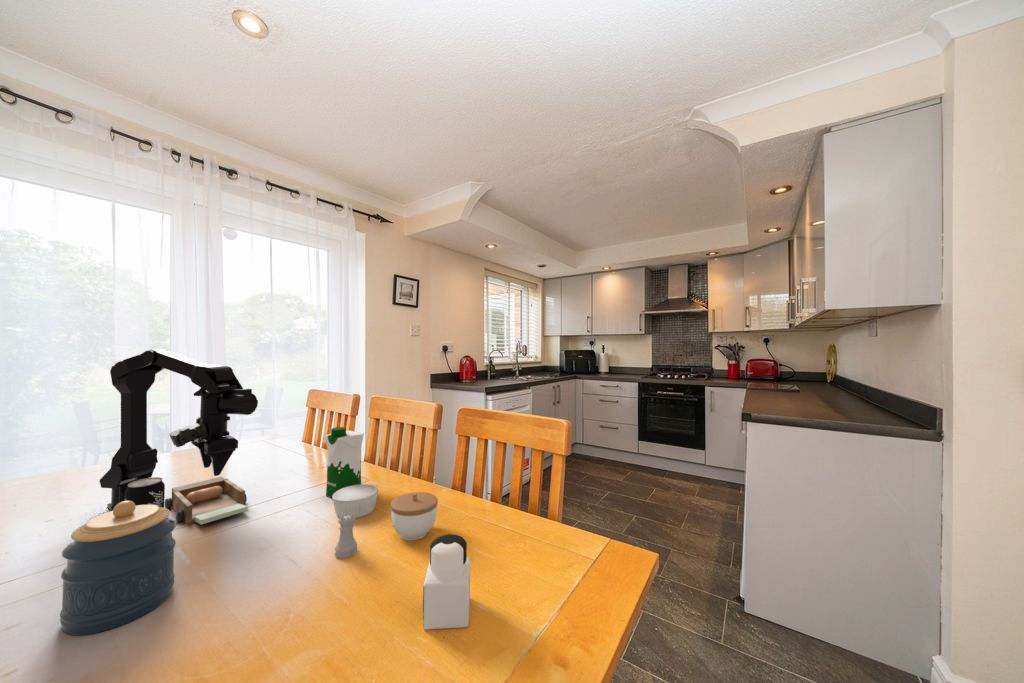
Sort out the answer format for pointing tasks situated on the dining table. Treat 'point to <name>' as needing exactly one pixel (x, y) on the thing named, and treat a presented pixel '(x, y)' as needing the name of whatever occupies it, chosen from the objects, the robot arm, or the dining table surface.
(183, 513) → the wooden drawer box
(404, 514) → the lidded jar
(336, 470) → the milk carton
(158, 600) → the canister
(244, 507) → the tailgate
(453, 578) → the white block figurine
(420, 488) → the dining table surface
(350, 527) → the rook chess piece
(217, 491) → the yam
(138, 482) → the beverage can
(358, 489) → the ramekin
